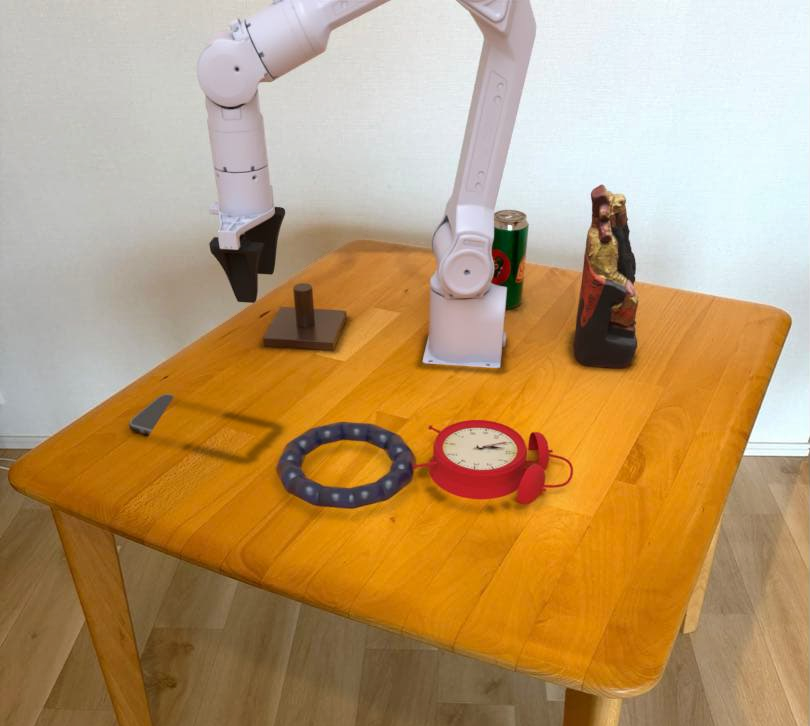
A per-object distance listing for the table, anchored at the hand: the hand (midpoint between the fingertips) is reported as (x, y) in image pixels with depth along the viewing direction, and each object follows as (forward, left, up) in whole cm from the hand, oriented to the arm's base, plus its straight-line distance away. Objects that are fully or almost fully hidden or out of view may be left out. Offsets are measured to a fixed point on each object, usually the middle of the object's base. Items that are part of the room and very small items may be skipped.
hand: (256, 286), depth 99 cm
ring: (-14, +22, -8) cm, 28 cm away
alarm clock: (-29, +21, -10) cm, 37 cm away
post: (-3, -8, -10) cm, 13 cm away
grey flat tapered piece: (+3, +16, -10) cm, 19 cm away
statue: (-41, -9, -10) cm, 43 cm away
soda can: (-28, -20, -10) cm, 36 cm away
